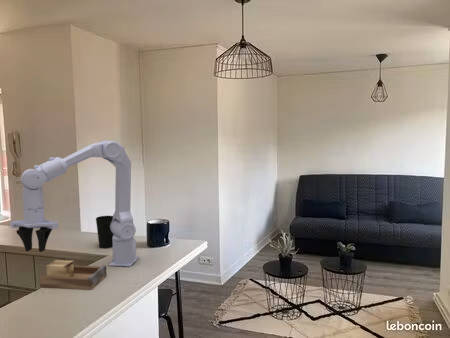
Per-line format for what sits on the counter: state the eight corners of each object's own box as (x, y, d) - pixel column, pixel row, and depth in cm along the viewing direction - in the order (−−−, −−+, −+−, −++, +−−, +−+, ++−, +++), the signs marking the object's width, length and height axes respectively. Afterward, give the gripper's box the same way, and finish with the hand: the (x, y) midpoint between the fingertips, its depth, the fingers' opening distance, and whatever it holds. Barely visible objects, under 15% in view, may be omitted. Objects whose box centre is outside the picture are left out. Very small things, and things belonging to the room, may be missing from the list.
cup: (94, 245, 153) (93, 217, 152) (112, 242, 158) (111, 214, 157) (100, 250, 147) (99, 220, 146) (119, 247, 152) (118, 218, 151)
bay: (59, 273, 123) (59, 263, 122) (106, 275, 121) (106, 265, 121) (40, 287, 112) (39, 276, 111) (91, 289, 110) (90, 278, 110)
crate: (56, 273, 119) (55, 259, 119) (74, 274, 119) (73, 260, 118) (46, 279, 114) (46, 265, 114) (65, 280, 114) (65, 266, 113)
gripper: (2, 209, 112) (5, 253, 113) (48, 211, 111) (50, 255, 112) (18, 205, 119) (19, 246, 120) (61, 206, 118) (62, 248, 119)
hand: (35, 250), depth 117 cm, fingers open, 4 cm apart
